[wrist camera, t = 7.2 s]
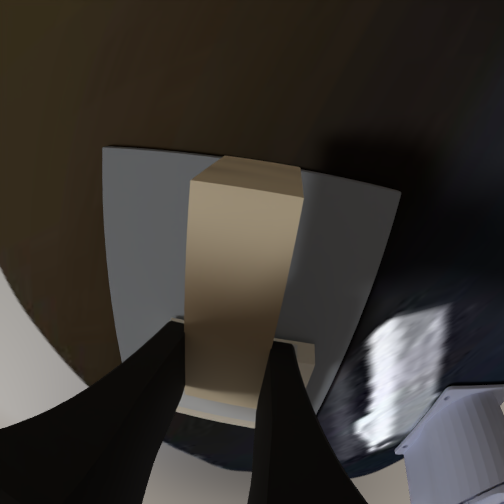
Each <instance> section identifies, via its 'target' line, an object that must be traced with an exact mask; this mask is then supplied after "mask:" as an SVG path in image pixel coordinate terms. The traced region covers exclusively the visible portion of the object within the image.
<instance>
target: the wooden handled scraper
mask: <svg viewBox="0 0 504 504" xmlns="http://www.w3.org/2000/svg"><path fill="white" fill-rule="evenodd" d="M303 200H304V194H303V186H302V177H301V169H300V167H296V166H290V165H284V164H278V163H272V162H266V161H260V160H253V159H246V158H239V157H232V156H223V157H222V158H221V159H219V160H218V161H216V162H215V163H213V164H212V165H211V166H209V167H208V168H206V169H205V170H204V171H202V172H201V173H200V174H198V175H197V176H195V177H194V178H193V179H191V180H190V192H189V206H188V223H187V242H186V266H185V301H184V332H185V388H184V391H183V395H182V398H181V400H180V402H179V405H178V406H180V407H184V408H188V409H192V410H196V411H201V412H205V413H210V414H214V415H219V416H224V417H229V418H235V419H240V420H246V421H252V422H255V419H256V409H257V403H258V398H259V394H260V390H261V386H262V382H263V378H264V374H265V370H266V365H267V361H268V357H269V353H270V349H272V344H273V340H274V336H275V332H276V327H277V323H278V319H279V314H280V310H281V306H282V301H283V297H284V292H285V288H286V283H287V278H288V274H289V269H290V264H291V260H292V255H293V250H294V245H295V241H296V236H297V231H298V226H299V221H300V216H301V211H302V206H303ZM292 345H293V346H294V348H295V353H296V358H297V345H295V344H292Z"/></svg>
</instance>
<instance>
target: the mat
mask: <svg viewBox="0 0 504 504" xmlns="http://www.w3.org/2000/svg"><path fill="white" fill-rule="evenodd" d="M221 158H222V157H220V156H212V155H204V154H196V153H187V152H177V151H167V150H156V149H144V148H130V147H114V146H106V147H103V212H104V230H105V244H106V256H107V266H108V276H109V284H110V293H111V300H112V307H113V314H114V320H115V327H116V333H117V338H118V344H119V349H120V354H121V359H122V363H123V362H124V361H125V360H126V359H127V358H129V357H130V356H131V355H132V354H133V353H134V352H136V351H137V350H138V349H139V348H140V347H142V346H143V345H144V344H145V343H146V342H147V341H148V340H149V339H150V338H152V337H153V336H154V335H155V334H156V333H157V332H158V331H159V330H160V329H161V328H162V327H163V326H164V325H165V324H166V323H168V322H169V321H170V320H171V318H177V319H181V320H184V301H185V266H186V242H187V223H188V206H189V192H190V180H191V179H193V178H194V177H195V176H197V175H198V174H200V173H201V172H202V171H204V170H205V169H206V168H208V167H209V166H211V165H212V164H213V163H215V162H216V161H218V160H219V159H221ZM301 177H302V186H303V194H304V200H303V206H302V211H301V216H300V221H299V226H298V231H297V236H296V241H295V245H294V250H293V255H292V260H291V264H290V269H289V274H288V278H287V283H286V288H285V292H284V297H283V301H282V306H281V310H280V314H279V319H278V323H277V327H276V332H275V336H274V338H278V339H284V340H290V341H297V342H303V343H310V344H314V345H315V366H314V369H313V372H312V374H311V377H310V379H309V382H308V384H307V387H306V391H307V394H308V396H309V399H310V402H311V404H312V407H313V409H314V412H315V414H317V412H318V410H319V408H320V406H321V404H322V402H323V400H324V398H325V396H326V394H327V392H328V390H329V388H330V386H331V384H332V381H333V379H334V377H335V375H336V373H337V371H338V368H339V366H340V364H341V362H342V360H343V357H344V355H345V353H346V350H347V348H348V346H349V344H350V341H351V339H352V336H353V334H354V332H355V329H356V327H357V324H358V322H359V319H360V317H361V314H362V312H363V309H364V307H365V304H366V301H367V299H368V296H369V293H370V291H371V288H372V285H373V282H374V280H375V277H376V274H377V271H378V268H379V265H380V262H381V259H382V256H383V253H384V250H385V247H386V244H387V241H388V238H389V234H390V231H391V228H392V225H393V221H394V218H395V214H396V211H397V207H398V204H399V200H400V196H401V192H400V191H398V190H394V189H390V188H386V187H382V186H378V185H374V184H369V183H365V182H361V181H356V180H352V179H347V178H343V177H338V176H333V175H328V174H323V173H318V172H313V171H308V170H302V169H301Z"/></svg>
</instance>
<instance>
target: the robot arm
mask: <svg viewBox="0 0 504 504" xmlns="http://www.w3.org/2000/svg"><path fill="white" fill-rule="evenodd" d="M184 388H185V332H184V323H180V322H176V321H169V322H168V323H166V324H165V325H164V326H163V327H162V328H161V329H160V330H159V331H158V332H157V333H156V334H155V335H154V336H153V337H152V338H150V339H149V340H148V341H147V342H146V343H145V344H144V345H143V346H142V347H140V348H139V349H138V350H137V351H136V352H134V353H133V354H132V355H131V356H130V357H129V358H127V359H126V360H125V361H124V362H123V363H121V364H120V365H119V366H117V367H116V368H115V369H113V370H112V371H111V372H109V373H108V374H107V375H105V376H104V377H103V378H101V379H100V380H99V381H97V382H96V383H94V384H93V385H91V386H90V387H88V388H87V389H85V390H84V391H82V392H80V393H79V394H77V395H76V396H74V397H73V398H70V399H69V400H67V401H65V402H63V403H61V404H59V405H58V406H56V407H54V408H52V409H50V410H48V411H46V412H44V413H41V414H39V415H37V416H34V417H32V418H30V419H27V420H24V421H22V422H19V423H17V424H14V425H11V426H8V427H5V428H2V429H0V504H142V501H143V498H144V494H145V490H146V486H147V483H148V480H149V477H150V473H151V470H152V467H153V463H154V461H155V458H156V455H157V453H158V450H159V448H160V446H161V443H162V441H163V439H164V437H165V435H166V432H167V430H168V428H169V425H170V423H171V421H172V419H173V416H174V414H175V412H176V409H177V407H178V405H179V402H180V400H181V398H182V395H183V391H184ZM503 402H504V384H500V385H477V386H449V387H447V388H446V389H445V390H444V391H443V393H442V394H441V395H440V397H439V398H438V399H437V401H436V402H435V403H434V405H433V406H432V407H431V408H430V410H429V411H428V412H427V413H426V415H425V416H424V417H423V418H422V419H421V421H420V422H419V423H418V424H417V425H416V427H415V428H414V429H413V430H412V431H411V432H410V433H409V435H408V436H407V437H406V438H405V439H404V440H403V441H402V442H401V443H400V445H399V446H398V447H397V448H396V449H395V454H404V459H405V466H406V472H407V478H408V485H409V493H410V501H411V504H504V415H503V412H502V410H501V408H500V405H501V404H502V403H503ZM247 504H368V503H367V502H366V500H365V499H364V498H363V496H362V495H361V494H360V492H359V491H358V489H357V488H356V487H355V485H354V484H353V482H352V481H351V480H350V478H349V477H348V475H347V473H346V472H345V470H344V468H343V467H342V465H341V464H340V462H339V460H338V459H337V457H336V455H335V453H334V451H333V450H332V448H331V446H330V444H329V442H328V440H327V438H326V436H325V434H324V432H323V430H322V428H321V425H320V423H319V421H318V419H317V417H316V414H315V412H314V409H313V407H312V404H311V402H310V399H309V396H308V394H307V391H306V388H305V385H304V382H303V379H302V376H301V373H300V369H299V366H298V362H297V358H296V353H295V348H294V346H293V345H292V344H290V343H284V342H278V341H273V344H272V349H270V353H269V357H268V361H267V365H266V370H265V374H264V378H263V382H262V386H261V390H260V394H259V398H258V403H257V409H256V419H255V434H254V451H253V466H252V478H251V487H250V492H249V498H248V503H247Z"/></svg>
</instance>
